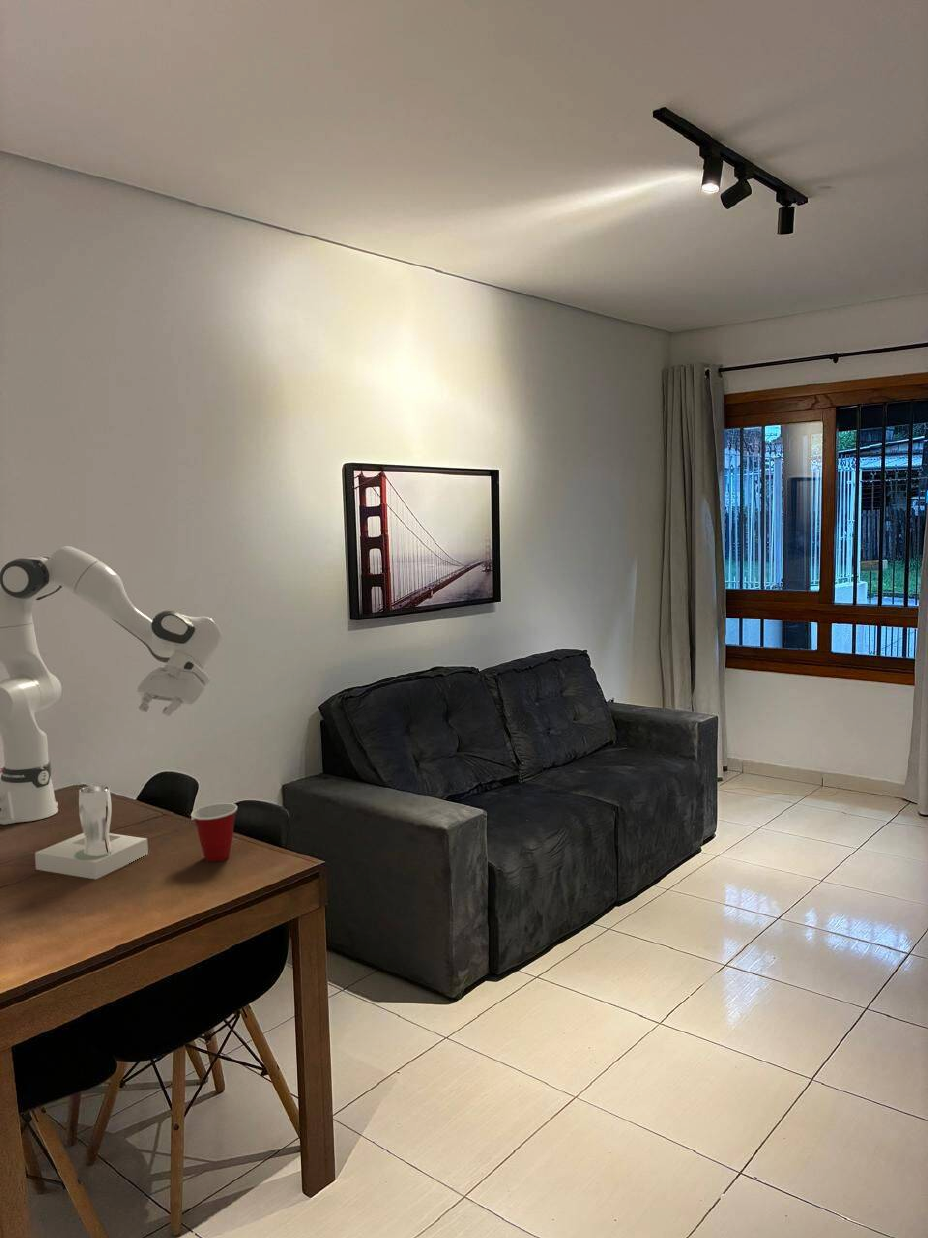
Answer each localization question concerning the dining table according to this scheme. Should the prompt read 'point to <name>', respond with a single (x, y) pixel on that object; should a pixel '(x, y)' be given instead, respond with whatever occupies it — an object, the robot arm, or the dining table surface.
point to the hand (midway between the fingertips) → (153, 712)
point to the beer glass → (95, 819)
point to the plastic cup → (215, 829)
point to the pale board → (74, 862)
